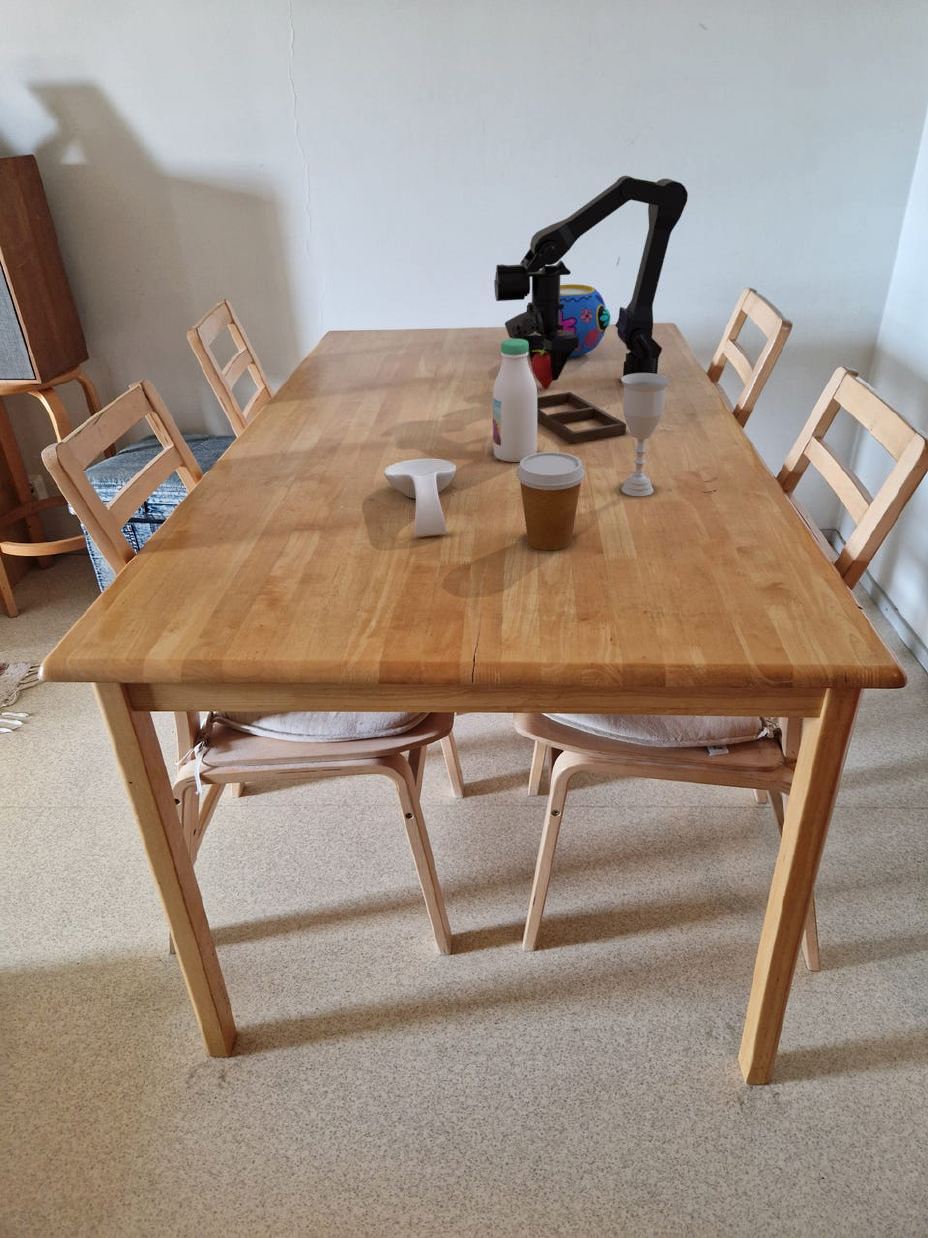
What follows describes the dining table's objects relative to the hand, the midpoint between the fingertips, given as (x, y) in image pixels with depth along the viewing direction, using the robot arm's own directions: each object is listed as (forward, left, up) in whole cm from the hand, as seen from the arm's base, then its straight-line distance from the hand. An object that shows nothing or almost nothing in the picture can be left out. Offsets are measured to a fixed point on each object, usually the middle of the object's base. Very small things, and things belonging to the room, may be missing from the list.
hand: (544, 374), depth 190 cm
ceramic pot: (-17, -21, -3) cm, 27 cm away
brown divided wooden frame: (+5, +21, -3) cm, 22 cm away
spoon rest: (+44, +45, -3) cm, 63 cm away
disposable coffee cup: (+32, +65, -3) cm, 73 cm away
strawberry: (0, 0, -3) cm, 3 cm away
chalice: (+11, +55, -3) cm, 56 cm away
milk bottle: (+22, +32, -3) cm, 39 cm away
